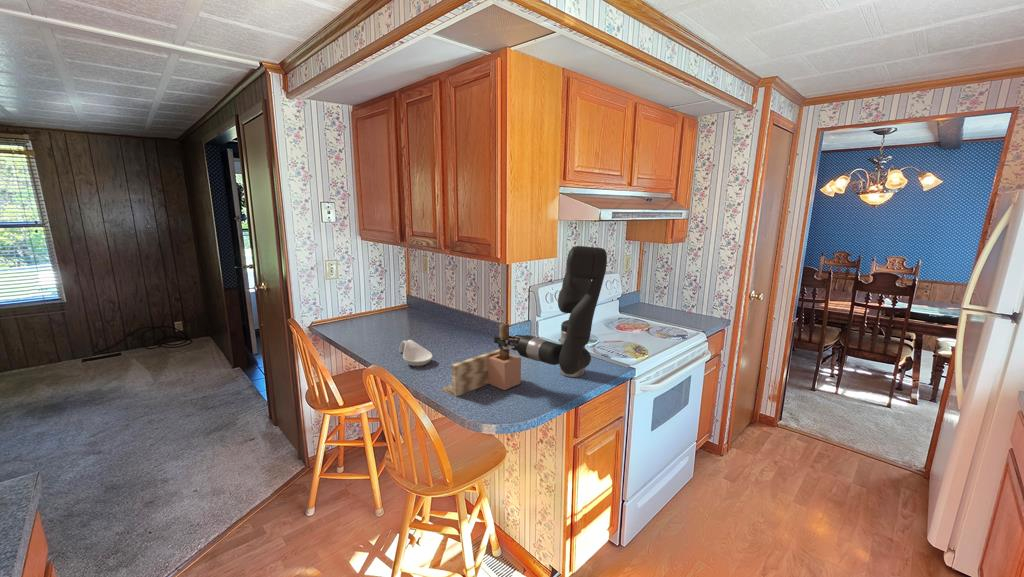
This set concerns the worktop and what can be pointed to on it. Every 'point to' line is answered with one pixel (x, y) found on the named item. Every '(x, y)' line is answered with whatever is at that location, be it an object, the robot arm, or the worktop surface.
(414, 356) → the spoon rest
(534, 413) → the worktop surface
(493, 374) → the socket block
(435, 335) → the worktop surface
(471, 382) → the backstop wall
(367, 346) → the worktop surface
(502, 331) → the dowel
